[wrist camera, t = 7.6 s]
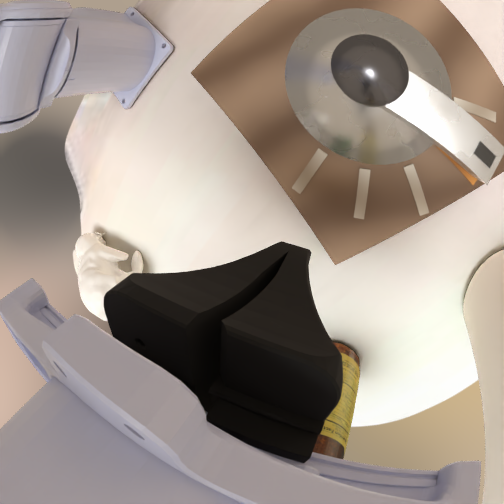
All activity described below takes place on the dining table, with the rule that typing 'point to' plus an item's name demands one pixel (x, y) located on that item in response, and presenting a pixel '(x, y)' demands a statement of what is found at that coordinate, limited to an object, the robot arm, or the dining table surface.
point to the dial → (381, 93)
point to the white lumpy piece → (100, 270)
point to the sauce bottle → (341, 409)
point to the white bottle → (489, 364)
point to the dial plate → (323, 159)
